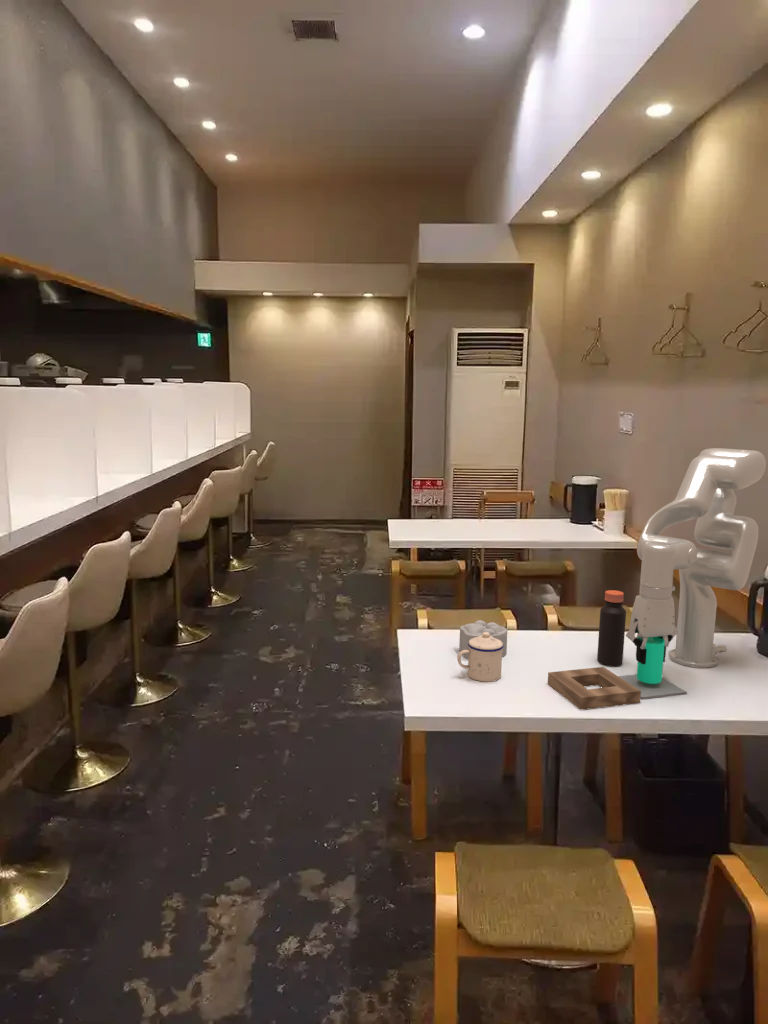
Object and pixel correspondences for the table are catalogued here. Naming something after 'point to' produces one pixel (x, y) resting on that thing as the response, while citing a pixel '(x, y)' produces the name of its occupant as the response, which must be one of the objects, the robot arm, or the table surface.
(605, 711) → the table surface
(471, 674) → the teacup with lid
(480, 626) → the lumpy-topped squat cylinder
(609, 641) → the bottle
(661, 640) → the candle
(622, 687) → the stand
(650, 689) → the mat
